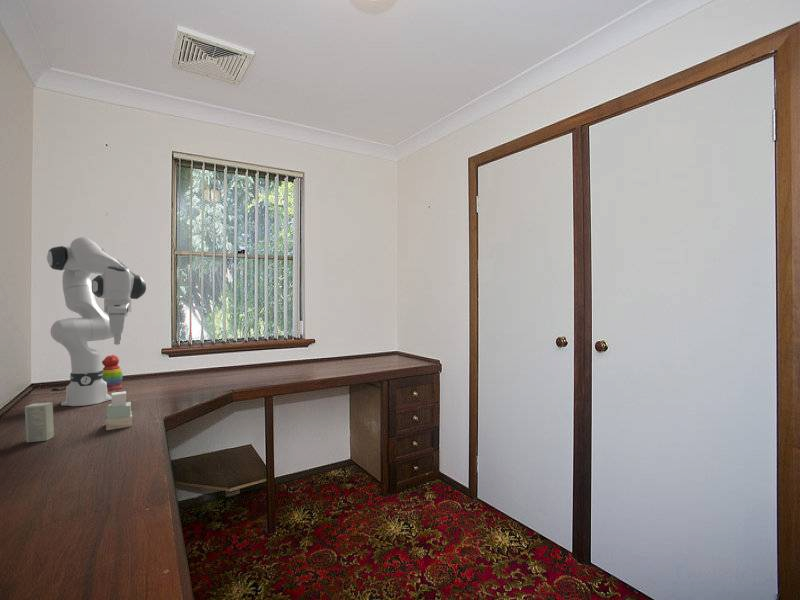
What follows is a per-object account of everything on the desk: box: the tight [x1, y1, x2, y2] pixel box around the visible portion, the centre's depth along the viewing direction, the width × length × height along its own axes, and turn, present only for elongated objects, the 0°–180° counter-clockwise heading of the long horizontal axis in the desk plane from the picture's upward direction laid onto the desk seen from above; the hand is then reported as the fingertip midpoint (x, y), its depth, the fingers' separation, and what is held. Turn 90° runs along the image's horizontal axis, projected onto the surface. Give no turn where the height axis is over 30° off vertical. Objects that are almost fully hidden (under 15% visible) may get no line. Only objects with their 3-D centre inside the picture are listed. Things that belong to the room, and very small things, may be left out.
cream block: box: [111, 390, 127, 407], centre depth 157 cm, size 4×4×4 cm
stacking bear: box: [101, 354, 124, 392], centre depth 219 cm, size 11×10×18 cm
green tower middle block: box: [106, 401, 132, 419], centre depth 157 cm, size 7×7×4 cm
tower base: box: [105, 411, 133, 431], centre depth 157 cm, size 8×8×4 cm
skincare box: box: [24, 401, 55, 443], centre depth 142 cm, size 6×4×12 cm
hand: (117, 342), depth 164 cm, fingers open, 8 cm apart
